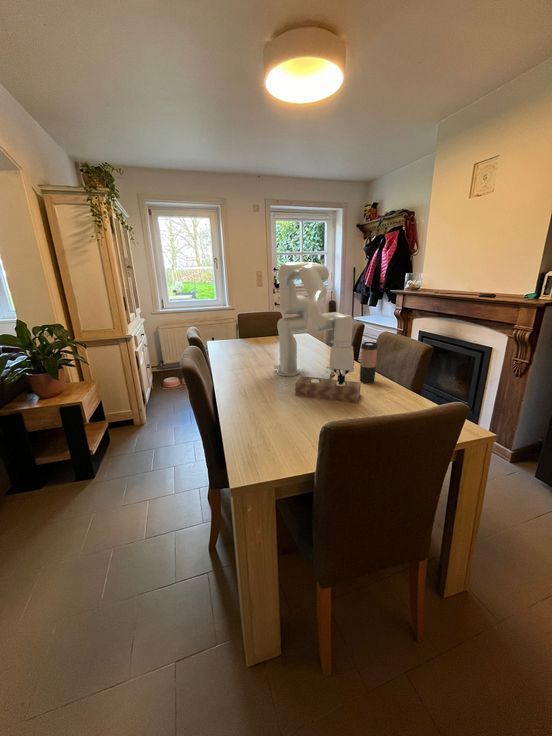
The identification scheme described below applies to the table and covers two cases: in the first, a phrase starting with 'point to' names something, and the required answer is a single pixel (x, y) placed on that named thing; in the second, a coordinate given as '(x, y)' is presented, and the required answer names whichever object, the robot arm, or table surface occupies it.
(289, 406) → the table surface
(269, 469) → the table surface
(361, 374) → the travel mug
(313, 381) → the peg
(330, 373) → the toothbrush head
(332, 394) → the walnut block
